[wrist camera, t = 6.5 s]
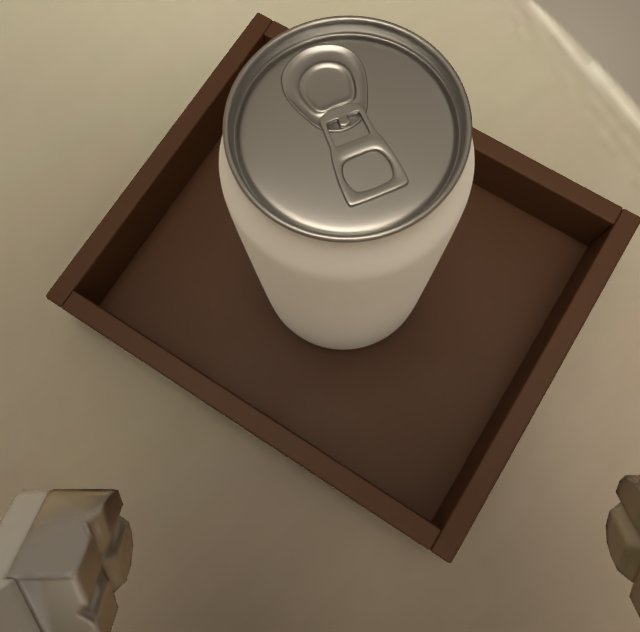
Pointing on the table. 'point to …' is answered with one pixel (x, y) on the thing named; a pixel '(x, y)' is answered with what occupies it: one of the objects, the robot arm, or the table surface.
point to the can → (346, 173)
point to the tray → (367, 362)
